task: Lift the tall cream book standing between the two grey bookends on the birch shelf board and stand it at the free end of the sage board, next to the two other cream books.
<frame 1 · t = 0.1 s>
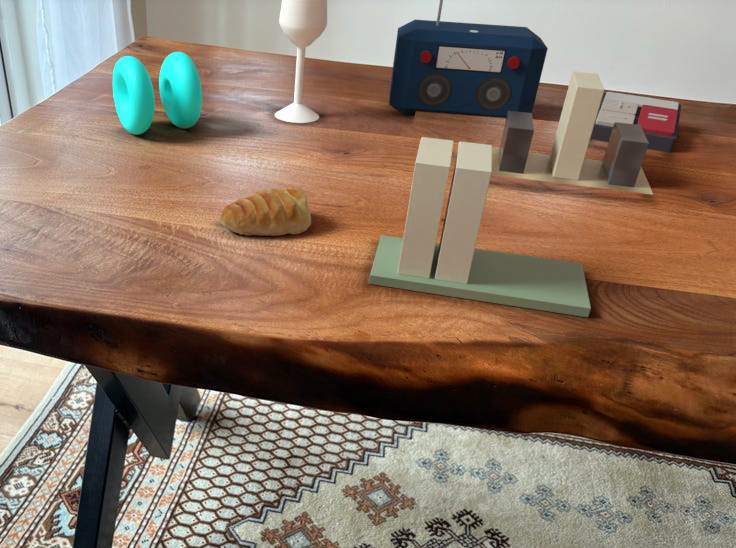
pastry: (269, 227, 83), on the table
champagne flute: (296, 117, 114), on the table
grey bookends: (561, 176, 98), on the table
calculator: (630, 137, 112), on the table
radio: (456, 114, 118), on the table
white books: (476, 278, 75), on the table
donuts: (158, 131, 107), on the table
cream book: (563, 169, 97), point 1 cm above the table, touching grey bookends
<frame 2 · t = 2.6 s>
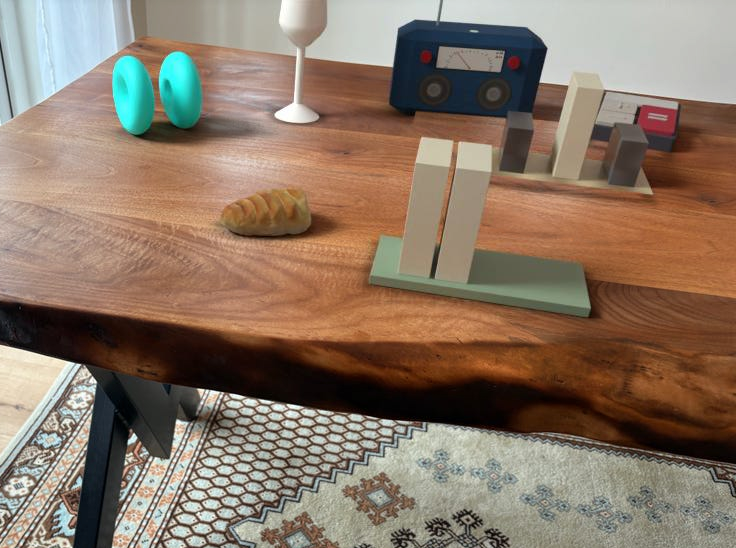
nothing on the table moved.
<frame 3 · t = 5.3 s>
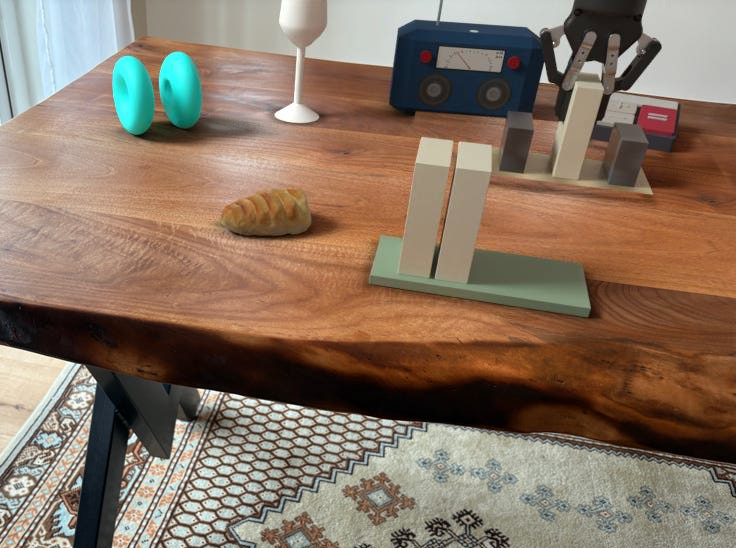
hand: (576, 120, 94), 7 cm above the table, tool pointing down, fingers closed on cream book, 3 cm apart
cream book: (563, 169, 97), point 1 cm above the table, touching grey bookends, gripper
everything else where it was.
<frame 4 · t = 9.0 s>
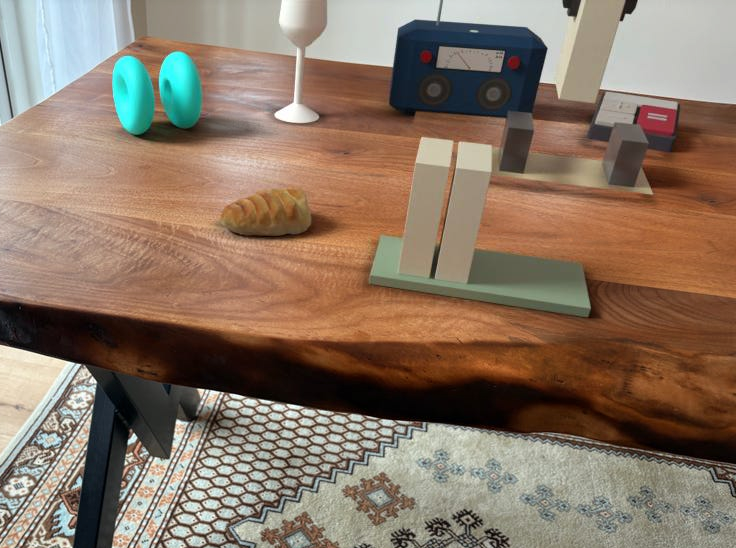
hand: (594, 16, 64), 23 cm above the table, tool pointing down, fingers closed on cream book, 3 cm apart
cream book: (573, 90, 68), point 17 cm above the table, touching gripper
everything else where it was.
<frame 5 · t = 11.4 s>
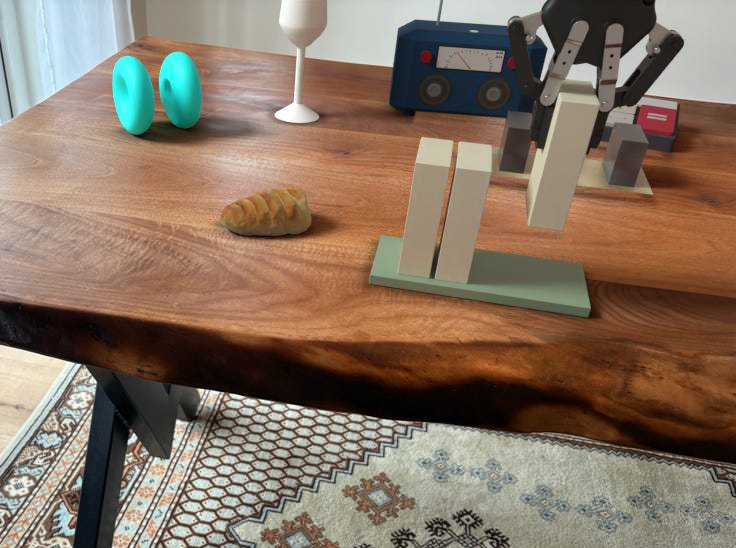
hand: (561, 147, 66), 14 cm above the table, tool pointing down, fingers closed on cream book, 3 cm apart
cream book: (543, 213, 70), point 7 cm above the table, touching gripper
everything else where it was.
when the fingers open (7 cm above the table, at t = 13.1 s): cream book stays where it is, resting on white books.
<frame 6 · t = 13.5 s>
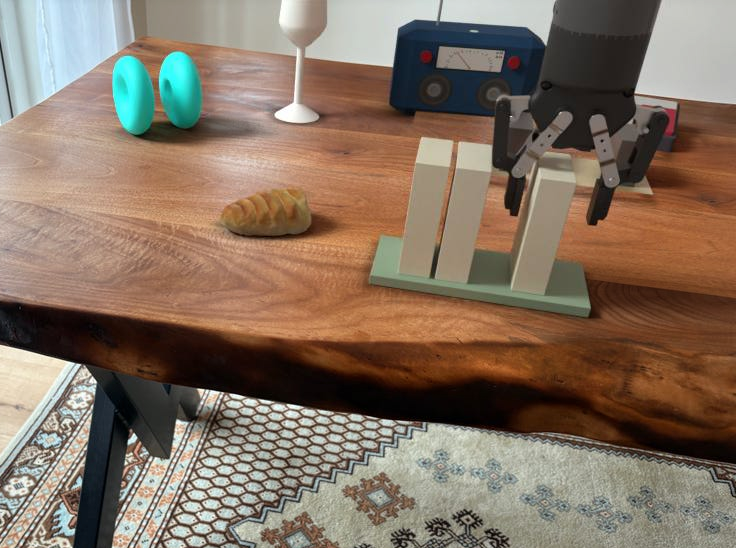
hand: (552, 217, 70), 7 cm above the table, tool pointing down, fingers open, 6 cm apart
cream book: (526, 275, 74), point 1 cm above the table, touching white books
everything else where it was.
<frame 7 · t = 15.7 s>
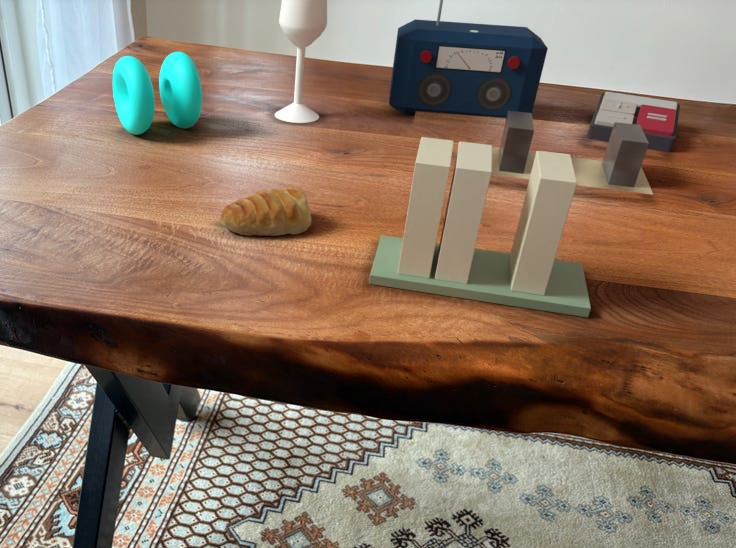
nothing on the table moved.
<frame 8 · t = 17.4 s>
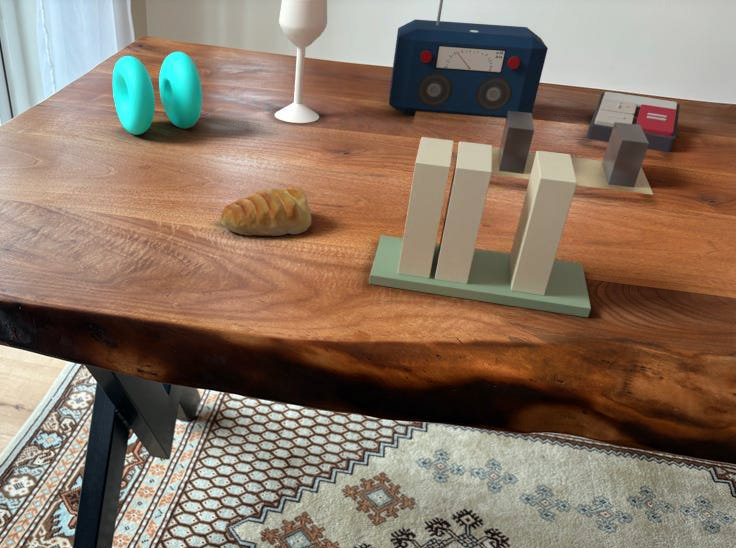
nothing on the table moved.
at the end: cream book inside the target area on the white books (0.2 cm from its centre), point 1.0 cm above the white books's base; cream book tilted 0°; the gripper is holding nothing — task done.
